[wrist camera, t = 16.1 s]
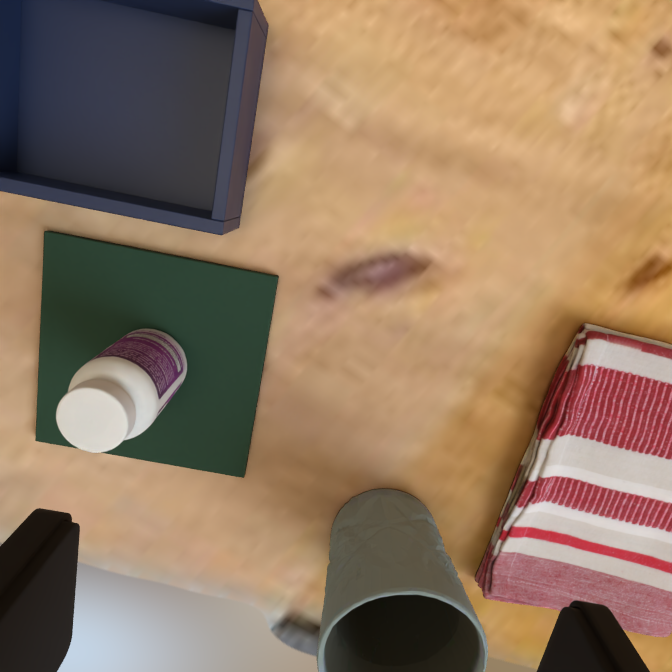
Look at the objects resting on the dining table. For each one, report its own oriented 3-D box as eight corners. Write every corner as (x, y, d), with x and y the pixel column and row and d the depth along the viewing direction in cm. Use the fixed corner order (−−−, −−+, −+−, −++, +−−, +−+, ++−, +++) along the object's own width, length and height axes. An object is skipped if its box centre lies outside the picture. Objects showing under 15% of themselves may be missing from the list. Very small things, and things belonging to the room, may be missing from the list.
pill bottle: (114, 323, 37) (39, 369, 28) (189, 330, 37) (139, 379, 28) (115, 393, 39) (44, 459, 29) (187, 400, 39) (139, 468, 29)
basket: (13, -33, 31) (-52, -75, 26) (268, 24, 32) (255, -7, 27) (8, 181, 35) (-50, 181, 30) (239, 228, 36) (222, 235, 31)
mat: (48, 230, 36) (44, 231, 35) (278, 275, 37) (277, 277, 36) (39, 437, 40) (35, 441, 40) (245, 474, 41) (243, 478, 40)
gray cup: (298, 539, 43) (283, 670, 31) (378, 453, 40) (394, 560, 29) (392, 604, 44) (410, 751, 33) (474, 525, 42) (525, 653, 31)
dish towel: (470, 581, 44) (479, 606, 41) (571, 318, 37) (589, 328, 35) (658, 621, 45) (678, 647, 42) (788, 371, 38) (820, 385, 36)
